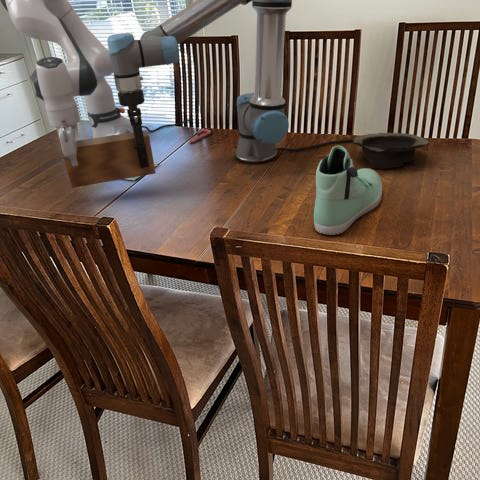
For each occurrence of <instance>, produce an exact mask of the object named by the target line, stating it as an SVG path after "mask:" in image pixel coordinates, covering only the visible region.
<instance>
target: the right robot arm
mask: <svg viewBox="0 0 480 480" xmlns="http://www.w3.org/2000/svg"><path fill="white" fill-rule="evenodd" d="M249 3H251V7H252V8H253V10H254V11H255V12H256V32H255V33H256V35H255V36H256V37H255V63H254V65H255V68H254V70H255V71H254V92H249V93H244V94H241V95H240V94H239V96H238V97H237V99H236V110H237V120H238V121H237V123H238V135H239V137H238V138H239V139H238V142H237V148H236V150H235V158H236V160H237V161H239V162H240V163H243V164H249V165H250V164H251V165H253V164H254V165H255V164H258V165H259V164H265V163H268V162H271V161H273V160H275V159H276V158H277V157H278V151H282V152H283V151H286V152H297V151H298V152H299V151H303V150H304V151H305V150H308V149H314V148H318V147H322V146H328V145H334V144H341V143H348V142H350V143H351V142H354V138H349V139H348V138H347V139H339V140H332V141H327V142H321V143H317V144H313V145H312V144H311V145H307V146H303V147H297V148H295V147H294V148H287V147H276V144H277V143H279V142H281V141H282V140H283V139H285V137H286V135H287V134H288V131H289V128H290V123H289V119H288V117H287V115H286V100H285V99H284V97H283V96H282V86H283V85H282V84H283V70H284V53H285V52H284V51H285V35H286V21H287V19H286V18H287V13H288V12H289V11H290V10H291V9H292V7H293V0H196V1H194V2H193V3H190V4H189V5H188V6H187V7H185V8H184V9H182V10H181V11H179V12H177V13H176V14H174V15H173V16H172V17H170V18H168V19H166V20H165V21H163V22H162V23H160V24H159V25H157V26H156V27H154V28H153V29H149V30H147V31H144V32H143V33H142V35H141V36H140V38H139V39H135V36H134V34H133V33H130V32H123V33H122V32H121V33H115V34H111V35H108V37H107V40H106V41H107V49H108V50H109V55H110V60H111V64H112V69H113V73H112V74H113V79H114V84H115V89H116V92H117V99H118V103H119V105H120V106H121V107H125V108H128V109H126V112H127V116H128V119H129V120H130V123H131V126H132V128H133V132H134V134H135V139H136V144H137V146H136V147H135V149H137V152H138V157H139V163H140V168H144V167H149V163H148V157H147V152H146V145H145V142H144V136H143V128H142V126H143V119H142V111H141V108H140V107H138V106H140V105H142V104H144V103H145V101H146V99H145V94H144V90H143V89H142V88H143V84H142V81H143V80H144V78H143V76H141V72H140V69H141V68H142V69H143V68H151V67H158V66H169V65H172V64H176V63H178V62H179V59H180V52H179V46H178V45H179V44H180V43H182V42H183V41H185V40H187V39H188V38H190V37H191V36H194V35H195V34H196V33H198V32H199V31H201V30H202V29H204V28H205V27H208V25H210V24H212V23H213V22H215V21H216V20H218V19H219V18H221V17H223V16H225V15H226V14H227V13H229V12H230V11H232V10H233V9H235V8H237V7H238V6H240V5H243V6H247V5H248V4H249Z"/></svg>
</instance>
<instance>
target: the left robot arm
mask: <svg viewBox="0 0 480 480" xmlns="http://www.w3.org/2000/svg"><path fill="white" fill-rule="evenodd" d="M0 3H1V5H2V6H3V8H4V9H5V11H6V12H7V13H8V15H9V17H10V20H11V22H12V24H13V26H14V28H15V29H16V30H17V31H18V32H19V33H20V34H22V35H23V36H26V37H27V38H30V39H34V40H39V41H46V42H47V41H48V42H51V43H54V44H57V45H58V46H59V47H61V48H62V49H63V51H64V54H65V55H66V60H67V63H65V61H64V60H63V59H62V58H60V57H58V56H57V57H56V56H47V57H42V58H40V59H38V60H37V61H36V62H35V69H34V71H33V72H32V74H31V75H30V81H31V82H32V85H33V90H34V93H35V94H34V95H35V97H37V98H38V99H40V100H42V101H44V103H45V104H44V106H45V107H44V108H45V112H46V115H47V118H48V122H49V125H50V127H54V128H55V130H56V131H57V132H58V139H59V142H60V143H59V144H60V147H61V148H62V151H63V154H64V157H66V158H67V157H69V159H70V161H71V164H72V166H77V165H78V160H77V157H76V156H77V143H78V141H79V128H78V125H79V124H78V123H80V122H81V115H80V112H79V107H78V102H77V100H76V99H75V97H84V100H85V104H86V109H87V118H88V122H89V125H90V127H91V128H90V129H91V137H92V138H98V137H105V136H111V135H117V134H124V133H130V132H133V128H132V126H131V123H130V119H129V118H127V117H125V116H123V115H122V114H125V112H126V109H125V108H124V107H123V108H122V107H117V106H116V103H115V97H114V94H113V89H112V87H111V85H110V84H109V83H108V81H107V79H106V77H109V76H111V75H113V74H114V73H113V69H112V64H111V60H110V55H109V49H108V47H106V46H104V44H102V42H101V41H100V40H99V39H98V38H97V37H96V35H94V33H92V31H91V30H90V29H89V28H88V27H87V25H86V24H85V23H84V22H83V19H81V17H80V16H79V15H78V13H77V12H76V10H75V8H74V6H72V4H71V2H70V1H69V0H0ZM186 122H189V123H192V120H191V119H185V120H183V121H181V122H178V123H171V124H164V125H161V126H158V127H157V128H155V129H152V130H151V129H150V127H148V126H146V125H141V126H142V129H145V130H147V131H148V133H154V132H156V131H159V130H161V129H163V128H168V127H175V126H180V125H181V126H182V125H183V124H184V123H186ZM92 138H91V139H92ZM62 151H61V152H62ZM63 154H62V155H63Z"/></svg>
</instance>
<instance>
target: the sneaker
mask: <svg viewBox="0 0 480 480" xmlns="http://www.w3.org/2000/svg"><path fill="white" fill-rule="evenodd" d="M317 165H318V166H317V168H316V172H315V201H314V207H313V225H314V229H315V231H316V232H318V233H320V234H323V235H326V236H327V235H328V236H336V235H339V234H342V233H344V232H345V231H347V230H348V229H349V228H350V227H351V226H352V225H353V224H354V222H356V221H357V220H358V219H359V218H360V217H362V216H363V215H365V214H367V213H370V212H372V210H374V209H375V208H377V207H378V205H380V203H381V200H382V196H383V184H382V183H383V182H382V179H381V176H380V175H379V173H378V172H377V171H376V170H374V169H372V168H367V167H365V168H358V169H357V168H355V167H354V161H353V159H352V158H351V156H350V153H349V152H348V150H347V148H345V147H344V146H342V145H334V146H333V147H331V149H330V151H329V154H327V155H326V156H325V157H324V158H322V159H321V160H320V161H319V163H318V164H317ZM343 230H344V231H343ZM319 231H320V232H319ZM322 232H323V233H322ZM339 232H340V233H339ZM326 233H327V234H326ZM328 233H329V234H328ZM335 233H337V234H335Z"/></svg>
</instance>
